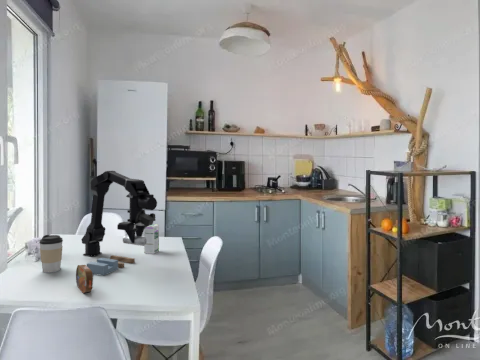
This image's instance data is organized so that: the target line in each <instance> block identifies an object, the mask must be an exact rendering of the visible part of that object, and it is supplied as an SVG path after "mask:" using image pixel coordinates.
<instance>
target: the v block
mask: <svg viewBox="0 0 480 360" xmlns="http://www.w3.org/2000/svg"><path fill="white" fill-rule="evenodd" d="M118 262H119V261H118V260H113V259H110V258H106V257H100V258H97V259H96V261H89V262H87V263H86V266H87V267H88V268H89V269H90V270H91V271H92V273H93V275H98V276H106V275H108V274H110V273H112V272H115V271H117V270H119V268H118Z"/></svg>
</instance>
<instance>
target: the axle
mask: <svg viewBox="0 0 480 360" xmlns="http://www.w3.org/2000/svg"><path fill="white" fill-rule="evenodd" d="M122 242H123V244H127V245H134V246H140V247H141V246H142V247H144V245H145V244H146V242H147V239H146V237H144V236H142V237H141V236H136V235H135V241H134V243H132V242H131V240H130V238H129V237H128V235H127V234H124V235H123V237H122Z"/></svg>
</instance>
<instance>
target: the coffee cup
mask: <svg viewBox="0 0 480 360" xmlns="http://www.w3.org/2000/svg"><path fill="white" fill-rule="evenodd" d="M63 242H64V239H63V237H61V236H60V235H57V234H51V235H50V234H44V235H43V236H42V238H41V239H39V243H38V244H39V252H40V261H41V269H42V272H43V273H55V272H59V271H60V270H61V267H62V264H61V263H62V255H63Z"/></svg>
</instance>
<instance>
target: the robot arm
mask: <svg viewBox="0 0 480 360" xmlns="http://www.w3.org/2000/svg"><path fill="white" fill-rule="evenodd" d="M113 183H115V184H117V185H120V186H122V187H123V188H124V190H125V191H127V192H128V194H127V195H126V196H125V197H126V198H129V209H128V210H127V214H129V218H128V219H127V221H121V222H118V224H117V227H116V228H117V230H120V231H125V233H126V235H128V237H129V238H130V240H131V242H132V243H134V241H135V236H141V237H143V235H144V229H145V228H146V227H147V226H149V225H152V224H154V222H156V213H154V212H153V213H150V214H149V213H148V214H147V213H146V210H148V211H154V210H155V209H157V206H158V201H157V199H156V197H154V196H155V195H154V194H150V192H149V189H148V188H147V185H146V184H145V181H144V180H143V179H139V178H130V177H128V176H125V175H123V174H121V173H119V172H117V171H115V170H105V171H104V172H103V173H101V174H98V175H97V176H95V177H93V178H92V179H91V181H90V191H91V192H92V194H93V199H92V207H91V218H90V223H89V224H88V226H87V227H86V230H85V233H84V235H83V237H82V238H81V243H82V244H83V245H84V247H85V248H84V251H85V252H84V253H82V256H87V257H96V256H99V255H102V252H101V245H100V243H102V242H103V240H104V237H105V235H106V228H105V227H104V225H103V224H102V222H103V214H104V212H103V211H104V205H105V204H104V203H105V196H106V194H107V193H108V192H109V190H110V186H111V185H112V184H113Z"/></svg>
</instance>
